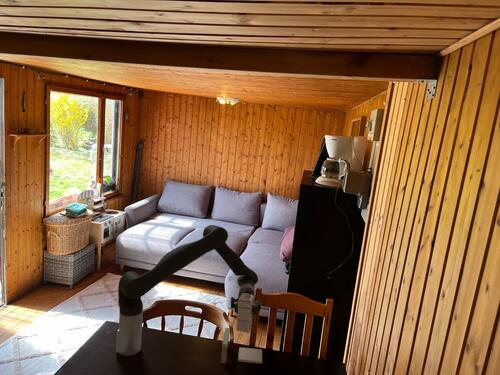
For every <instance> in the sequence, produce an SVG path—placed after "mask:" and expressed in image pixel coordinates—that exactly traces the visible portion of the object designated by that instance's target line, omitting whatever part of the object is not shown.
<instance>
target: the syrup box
mask: <svg viewBox="0 0 500 375" xmlns="http://www.w3.org/2000/svg"><path fill="white" fill-rule="evenodd" d="M253 305H254V295H252V294H247V293H242V294H241V295H240V297H239V300H238V314H236V317H237V318H236V327H235V328H236V331H238V332H240V333H241V332H243V333H250V332H251V329H252V326H253V317H254V315H253Z"/></svg>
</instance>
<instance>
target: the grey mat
mask: <svg viewBox="0 0 500 375" xmlns="http://www.w3.org/2000/svg"><path fill="white" fill-rule="evenodd" d="M237 357H238V358H237V362H241V363H250V364H251V363H253V364H262V365H263V349H260V348H259V349H258V348H249V347H239V349H238V356H237Z"/></svg>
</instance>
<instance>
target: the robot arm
mask: <svg viewBox="0 0 500 375" xmlns="http://www.w3.org/2000/svg"><path fill="white" fill-rule="evenodd" d="M228 237H229V232H228V231H227V229H226V228H225V227H222V226H219V225H216V224H209V225H207V226H205V227H204V229H203V232H202V237H201V238H200V239H197V240H195V241H192V242H191V241H190V242H188V243H185V244H182V245H180V246H177V247H175V248H174V249H171V250H170V251H168V252H167V253H165V254H164V255H163V256H162V257H161V259H160V260H159V261H158V262H157V264H156V265H155V266H154V267H153V268H151V269H150V270H148V271H147V272H145V273H142V274H141V275H140V274H139V273H138V272H136V271H127V272H124V273H123V275H121V277H120V279H119V281H118V289H117V290H118V291H117V292H118V293H117V295H118V296H117V297H118V298H117V299H118V300H117V303H118V308H119V313H118V314H119V315H118V318H119V319H118V329H117V330H116V341H115V342H116V343H115V344H116V346H115V352H116V353H118V354H119V355H122V356H126V357H129V356H134V355H137V354H139V353H140V352H141V350H142V337H143V336H142V334H143V332H142V331H143V318H144V317H143V315H144V314H143V313H144V304H143V301H142V298H141V297H143V296H145V295H146V294H147V293H148V292H150V291H151V290H152V289H154V288H155V287H156V286H158V285H159V284H161V283H162V282H164V281H165V280H166V279H168V278H169V277H171V276H173V275H174V274H176V273H177V272H179V271H182V269H184V268H185V267H187V266H189V265H190V264H192V263H193V262H195V261H197V260H198V259H200V258H201V257H203V256H205V255H206V254H208V253H210V252H212V251H213V250H214V251H216V253H217V254H218V255H219V256H220V257H221V259H222V260H223V261H224V262H225V264H226V265H227V267H229V269H230V270H231V272H232V273H233V274H234V275H235V276H236V277H238V278H237V285H238V287H239V290H238V294H237V295H238V297H237V298H234V297H233V296H231V297H230V309H231V310H233V309H234V313H235V314H236V315H237V314H238V300H239V297H240V295H241V294H242V293H247V294H252V295H254V305H253V316H255V315H257V312H260V311H261V310H262V304H263V303H262V302H263V300H262V299H259V300H256V292H255V291H256V290H255V285H257V284H258V282H259V277H258V275H257V273H256V272H255V271H254V270H253V269H251V268H249V266H247V265H246V264H245V262H244V261H243V260H242V259H241V257H240V256H239V255H238V253H236V252H235V251H234V250H233V249H232V248H231V247H230V246H229V245H228V244H227V241H228Z"/></svg>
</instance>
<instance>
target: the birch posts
mask: <svg viewBox="0 0 500 375" xmlns="http://www.w3.org/2000/svg"><path fill="white" fill-rule="evenodd" d="M230 332H231V331H230ZM230 332H229V334H230ZM229 341H230V337H229V338H228V344H227V348H226V347H222V346H221V354H220V355H221V356H220V364H226V362H227V353H228V349H229V344H230V342H229Z"/></svg>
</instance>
